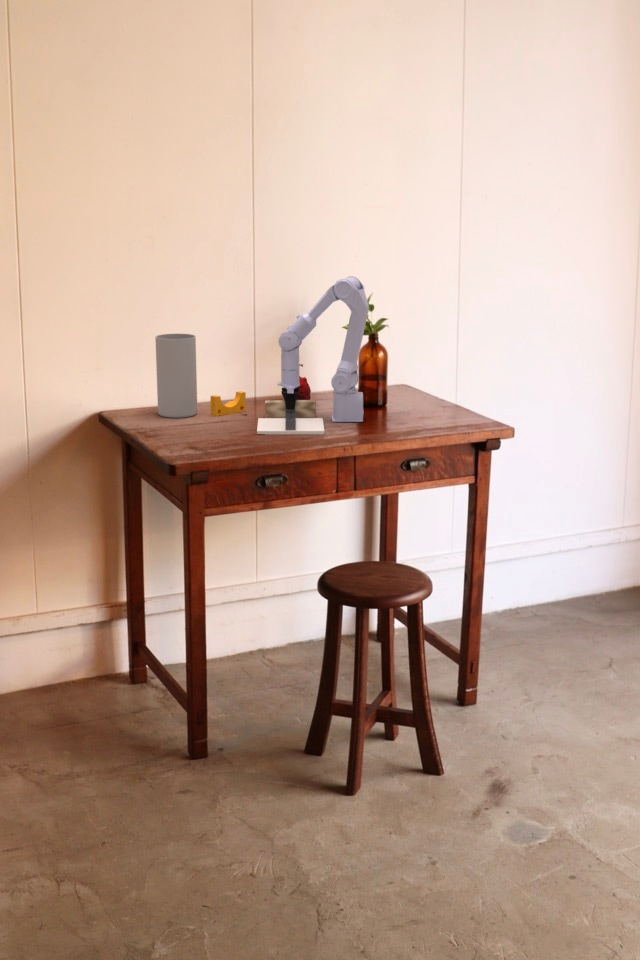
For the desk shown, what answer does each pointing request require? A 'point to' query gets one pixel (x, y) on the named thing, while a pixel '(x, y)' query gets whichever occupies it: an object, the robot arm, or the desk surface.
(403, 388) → the desk surface
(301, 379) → the red clay folk toy
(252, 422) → the desk surface
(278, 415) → the oak bar
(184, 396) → the cylinder vase
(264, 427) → the stand
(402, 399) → the desk surface
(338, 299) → the robot arm
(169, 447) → the desk surface
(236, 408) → the pipe clamp
